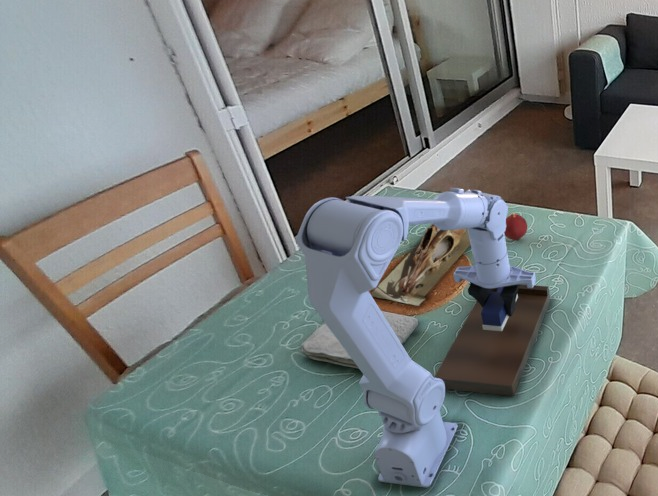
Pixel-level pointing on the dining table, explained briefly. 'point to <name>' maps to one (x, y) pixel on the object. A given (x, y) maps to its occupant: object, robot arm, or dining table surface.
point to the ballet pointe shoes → (423, 266)
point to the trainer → (494, 312)
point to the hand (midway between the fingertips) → (501, 311)
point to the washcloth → (330, 349)
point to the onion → (515, 227)
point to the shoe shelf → (495, 347)
